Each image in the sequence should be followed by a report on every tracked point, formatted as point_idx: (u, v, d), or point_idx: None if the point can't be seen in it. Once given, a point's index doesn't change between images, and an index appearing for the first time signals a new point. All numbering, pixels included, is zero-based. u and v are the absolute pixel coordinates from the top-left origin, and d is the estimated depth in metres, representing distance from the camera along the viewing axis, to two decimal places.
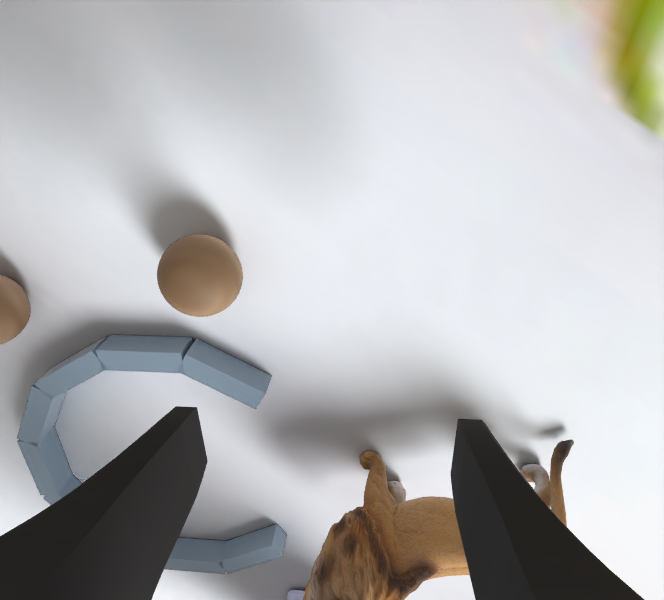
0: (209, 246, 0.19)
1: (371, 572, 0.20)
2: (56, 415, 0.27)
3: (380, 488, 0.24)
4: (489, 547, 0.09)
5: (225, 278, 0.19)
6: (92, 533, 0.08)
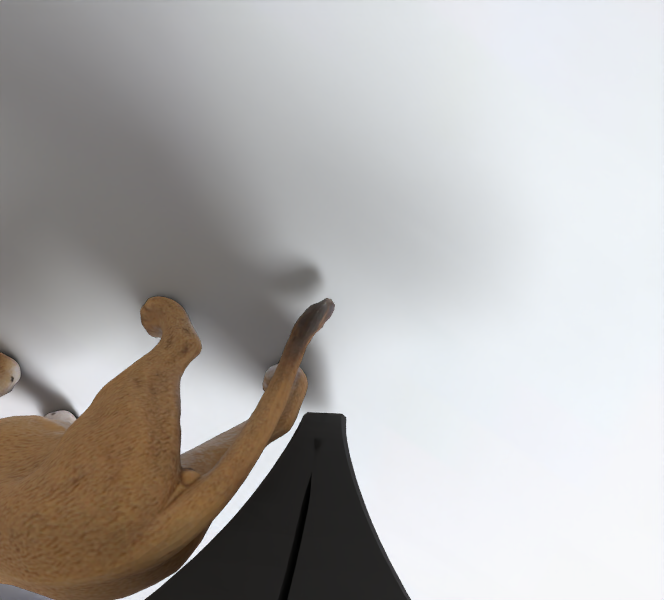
0: None
1: None
2: None
3: None
4: None
5: None
6: (293, 547, 0.08)
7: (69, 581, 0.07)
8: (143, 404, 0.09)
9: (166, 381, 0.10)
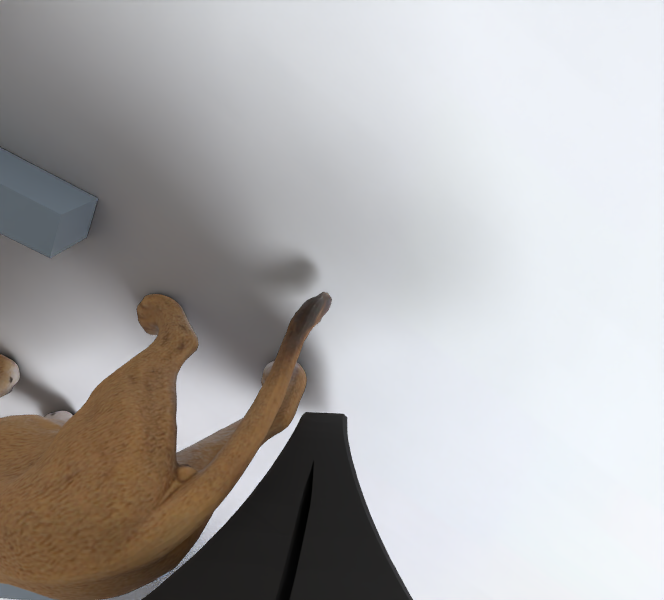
0: None
1: None
2: None
3: None
4: None
5: None
6: (290, 547, 0.08)
7: (63, 578, 0.07)
8: (139, 400, 0.09)
9: (162, 377, 0.10)
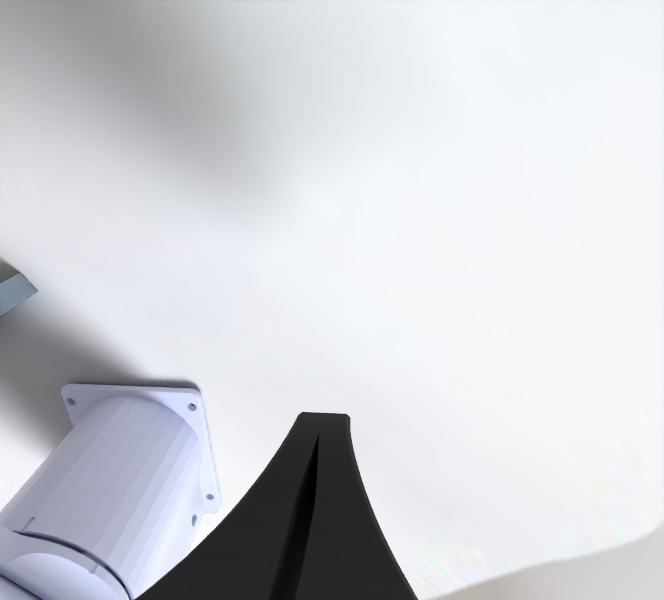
0: None
1: None
2: None
3: None
4: None
5: None
6: (284, 546, 0.08)
7: None
8: None
9: None
